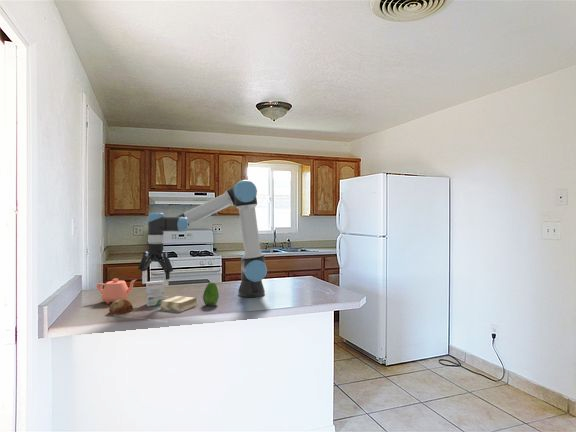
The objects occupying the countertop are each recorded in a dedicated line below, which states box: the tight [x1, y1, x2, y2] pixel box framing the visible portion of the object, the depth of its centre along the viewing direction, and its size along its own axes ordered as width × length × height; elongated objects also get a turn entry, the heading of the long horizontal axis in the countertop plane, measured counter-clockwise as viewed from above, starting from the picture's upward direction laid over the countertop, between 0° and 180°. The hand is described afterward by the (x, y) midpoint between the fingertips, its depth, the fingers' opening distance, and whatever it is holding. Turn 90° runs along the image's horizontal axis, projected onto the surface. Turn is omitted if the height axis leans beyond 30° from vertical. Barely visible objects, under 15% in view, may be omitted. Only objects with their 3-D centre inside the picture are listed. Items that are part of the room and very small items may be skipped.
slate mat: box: [148, 304, 198, 314], centre depth 190 cm, size 18×16×1 cm
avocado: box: [202, 282, 220, 307], centre depth 194 cm, size 8×8×12 cm
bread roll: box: [108, 299, 134, 315], centre depth 182 cm, size 10×10×8 cm
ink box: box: [145, 280, 165, 307], centre depth 196 cm, size 8×5×12 cm, turn 108°
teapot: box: [96, 278, 138, 305], centre depth 203 cm, size 13×20×12 cm, turn 101°
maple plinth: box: [161, 295, 197, 313], centre depth 189 cm, size 12×12×4 cm
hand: (155, 284), depth 196 cm, fingers open, 13 cm apart
